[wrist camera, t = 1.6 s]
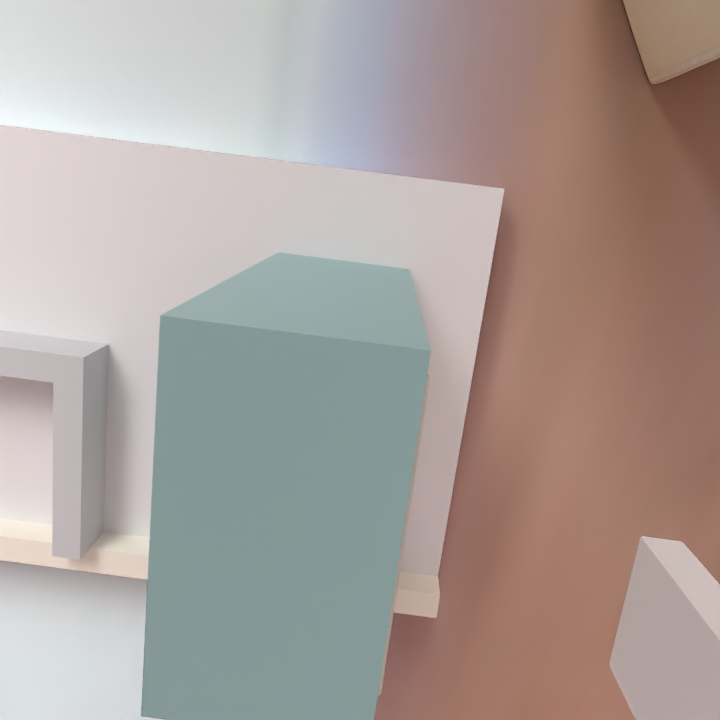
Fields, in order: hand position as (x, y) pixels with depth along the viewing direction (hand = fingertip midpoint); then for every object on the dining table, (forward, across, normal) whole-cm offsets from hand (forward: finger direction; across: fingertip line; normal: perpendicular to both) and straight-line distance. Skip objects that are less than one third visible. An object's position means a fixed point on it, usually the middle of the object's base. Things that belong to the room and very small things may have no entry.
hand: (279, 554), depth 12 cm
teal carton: (+12, 0, 0) cm, 12 cm away
